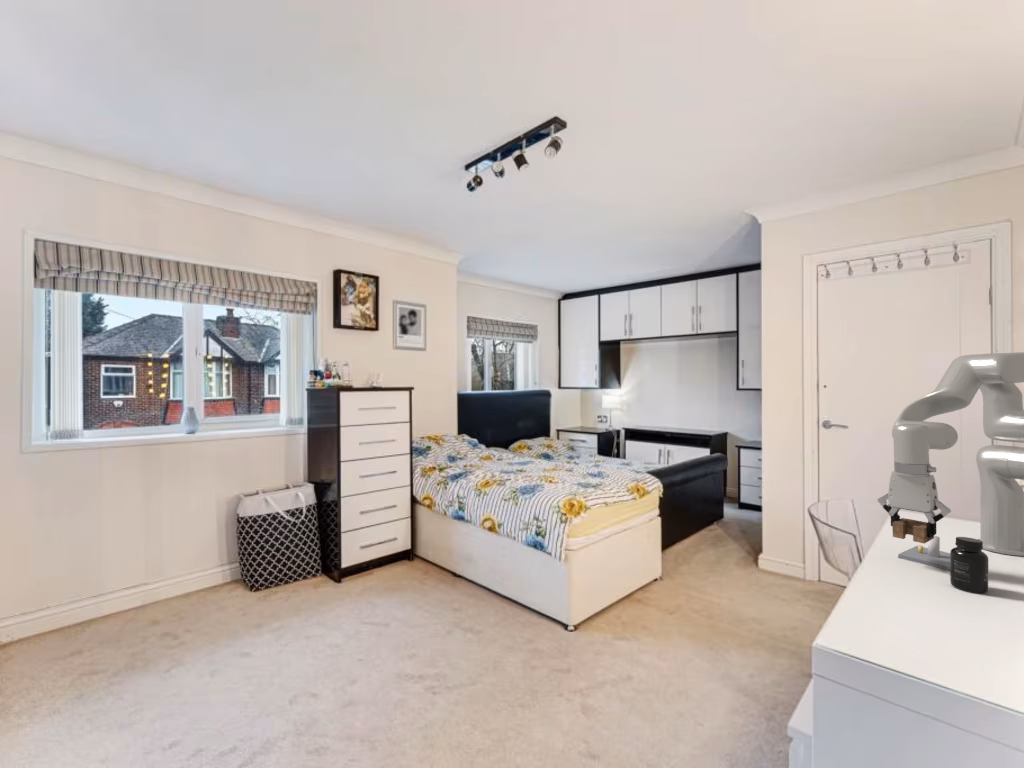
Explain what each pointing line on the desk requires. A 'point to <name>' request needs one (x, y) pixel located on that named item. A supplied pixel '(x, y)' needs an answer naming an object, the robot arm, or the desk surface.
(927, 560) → the post base
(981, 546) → the supplement bottle
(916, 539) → the wooden arch block
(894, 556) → the desk surface
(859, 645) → the desk surface
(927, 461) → the robot arm
